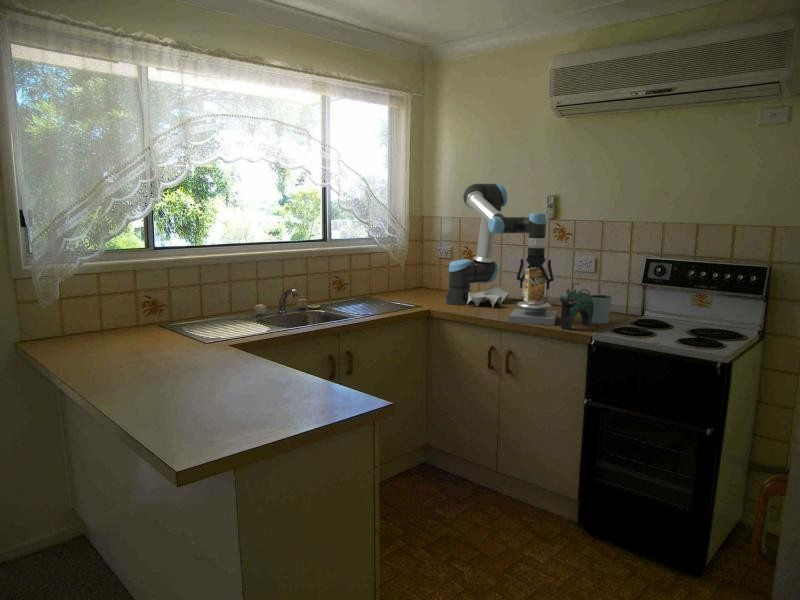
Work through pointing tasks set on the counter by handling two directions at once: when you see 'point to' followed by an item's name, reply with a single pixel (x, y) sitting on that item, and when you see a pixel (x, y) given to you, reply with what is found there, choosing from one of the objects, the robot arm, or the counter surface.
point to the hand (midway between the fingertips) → (534, 295)
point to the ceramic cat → (575, 307)
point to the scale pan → (534, 305)
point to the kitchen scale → (533, 316)
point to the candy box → (534, 285)
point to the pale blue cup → (601, 308)
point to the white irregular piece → (489, 295)
